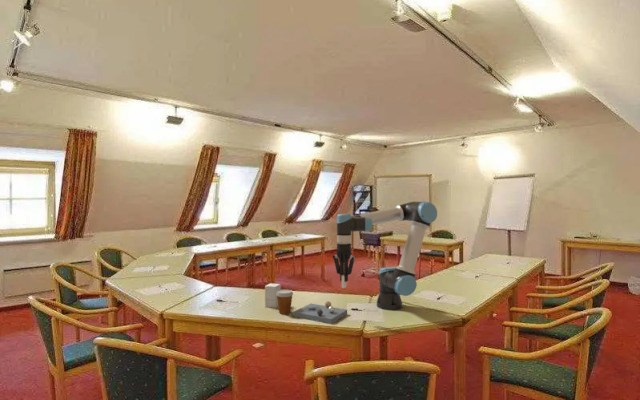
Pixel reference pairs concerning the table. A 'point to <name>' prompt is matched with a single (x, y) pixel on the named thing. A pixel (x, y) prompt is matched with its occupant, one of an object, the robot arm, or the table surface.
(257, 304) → the table surface
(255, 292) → the table surface
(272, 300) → the supplement box
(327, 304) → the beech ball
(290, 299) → the disposable coffee cup
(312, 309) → the board
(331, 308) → the steel ball
